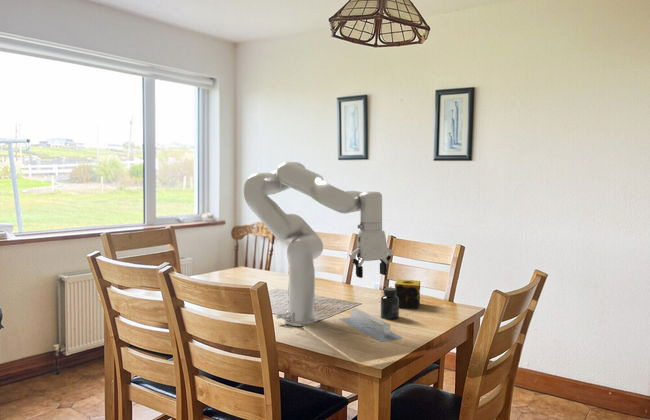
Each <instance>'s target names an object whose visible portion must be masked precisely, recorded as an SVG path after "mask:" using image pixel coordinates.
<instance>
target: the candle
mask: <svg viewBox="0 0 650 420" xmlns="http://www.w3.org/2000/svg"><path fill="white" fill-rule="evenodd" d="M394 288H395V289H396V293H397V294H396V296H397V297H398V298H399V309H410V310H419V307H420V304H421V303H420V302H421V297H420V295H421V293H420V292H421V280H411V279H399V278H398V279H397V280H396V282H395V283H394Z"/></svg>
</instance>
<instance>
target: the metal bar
mask: <svg viewBox="0 0 650 420" xmlns="http://www.w3.org/2000/svg"><path fill="white" fill-rule="evenodd" d="M350 317H351V320H352V321H353V322H355V323H357V324H359V325H361V326H363V327H365V328H367V329H368V330H370V331H372V332H374V333H376V334H378V335H380V336H382V337H384V338H385V337H390V331H391V324H390V323H387V322H385V321H383V320H381V319H379V318H377V317H376V316H373V315H371V314H368V313H367V312H364V311H362V310H361V309H359V308H351V309H350Z"/></svg>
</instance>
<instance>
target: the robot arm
mask: <svg viewBox="0 0 650 420" xmlns="http://www.w3.org/2000/svg"><path fill="white" fill-rule="evenodd" d="M288 189H293V190H295V191H298V192H300V193H302V194H303V195H306V196H308V197H310V198H312V199H313V200H315V201H316V202H318V203H319V204H321V205H322V206H325V207H326V208H329V209H331V210H333V211H335V212H337V213H339V214H350V213H355V212H360V214H359V215H360V219H359V220H360V222H359V224H357V229H360V230H359V231H358V234H357V239H356V240H357V242H356V249H354V250H353V251H351V252H350V253H349V254H348V256H349V259H350V260H351V263H353V264H354V265H353V266H355V275H356V277H357V278H359V279H362V278H364V277H363V276H364V275H363V274H364V271H363V268H364V267H363V264H364V262H370V261H371V262H372V261H380V262H379V274H380V275H382V276H386V275H387V265H388V264H389V261H390V260H391V258H392V255H393V252H394V251H393V250H392V249H390V248H388V247H387V237H386V234H385V231H384V230H383V195H382V193H381V192H379V191H357V190H346V191H345V190H342V189H340V188H337V187H335V186H334V185H331V184H329V183H328V182H326V180H324V177H323V176H322V175H320V174H318V173H316V172H314V171H312V170H310V169H307V167H305V166H304V164H302V163H301V162H297V161H285V162H282V163H280V164H279V165H278V166H277V168H276V170H273V171H270V172H256V173H252V174H250V176H248V177H247V179H246V180H245V181H244V184H243V197H244V200H245V203H246V204H247V206H248V207H249V209H250V210H251V211H252V212H253V213H254V214H255V215H256V216H257V217H258V218H259V220H260V221H261V222H262V224H263V225H264V226H265V227H266V228H267V230H268V231H269V232H270V233H271V234H272V235H273V236H274V237H275V238H276V239H277V240H279V241H282V242H285V241H290V243H289V244H288V246H287V250H286V256H287V264H288V308H287V309H285V311H284V312H279V313H276V315H275V317H276V319H277V320H279V319H282V320H283V321H284V323H285V324H286V325H288V326H291V327H292V326H293V327H304V325H305V324H312V323H316V322H318V320H319V317H318V316H316V315H315V309H316V307H315V297H316V294H315V289H316V271H315V266H314V259H317V258H319V257H320V256H321V255H322V253H323V251H324V250H323V249H324V244H323V241H322V239H321V237H320V236H319V235H318V233H316V232H315V230H314V229H313V228H312V227H311V226H310V225H309V223H307V222H306V221H305V219H303V217H301V216H300V215H298V214H296V213H286V212H285V211H284V210H283V209H282V208H281V207H280V205H279V204H277V203H276V202H275V201H274V200H273V199H272V198H271V197H270V196H271V195H276V194H278V193H281V192H284V191H286V190H288ZM356 257H357V258H356ZM303 324H304V325H303Z"/></svg>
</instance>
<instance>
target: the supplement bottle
mask: <svg viewBox="0 0 650 420" xmlns="http://www.w3.org/2000/svg"><path fill="white" fill-rule="evenodd" d="M396 294H397V293H396V289H395V287H385V288H383V295H382V296H381V297H380V318H381V319H382V320H386V321H396V320H399V319H400V308H399V298H398V297H397V296H396Z"/></svg>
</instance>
